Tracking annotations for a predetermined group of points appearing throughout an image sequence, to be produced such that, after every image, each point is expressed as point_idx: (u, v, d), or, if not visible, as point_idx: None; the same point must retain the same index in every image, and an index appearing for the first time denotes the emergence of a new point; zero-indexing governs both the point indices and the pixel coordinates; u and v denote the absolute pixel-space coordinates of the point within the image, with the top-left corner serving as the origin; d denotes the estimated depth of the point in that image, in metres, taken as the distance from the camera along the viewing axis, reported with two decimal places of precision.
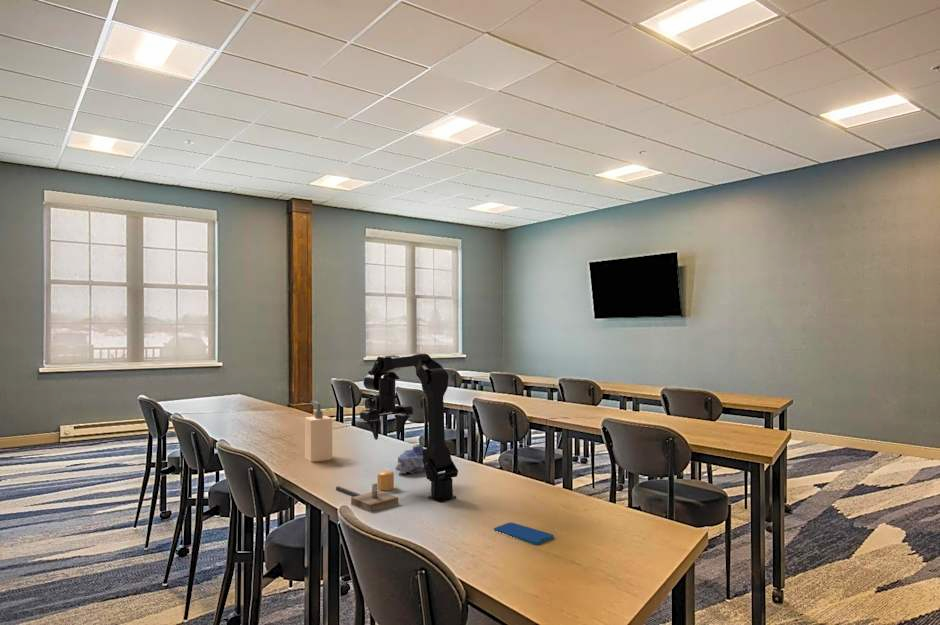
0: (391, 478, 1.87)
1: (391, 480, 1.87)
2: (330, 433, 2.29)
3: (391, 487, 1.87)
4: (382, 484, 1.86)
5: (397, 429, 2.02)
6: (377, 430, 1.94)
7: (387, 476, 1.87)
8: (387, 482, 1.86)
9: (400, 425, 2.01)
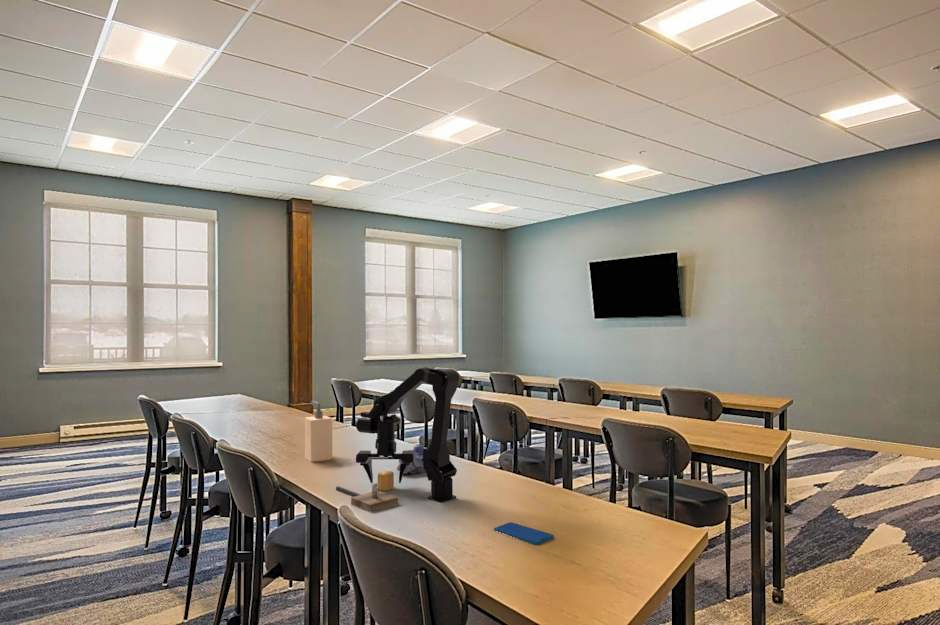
0: (391, 478, 1.87)
1: (391, 480, 1.87)
2: (330, 433, 2.29)
3: (391, 487, 1.87)
4: (382, 484, 1.86)
5: None
6: (368, 474, 1.87)
7: (387, 476, 1.87)
8: (387, 482, 1.86)
9: None
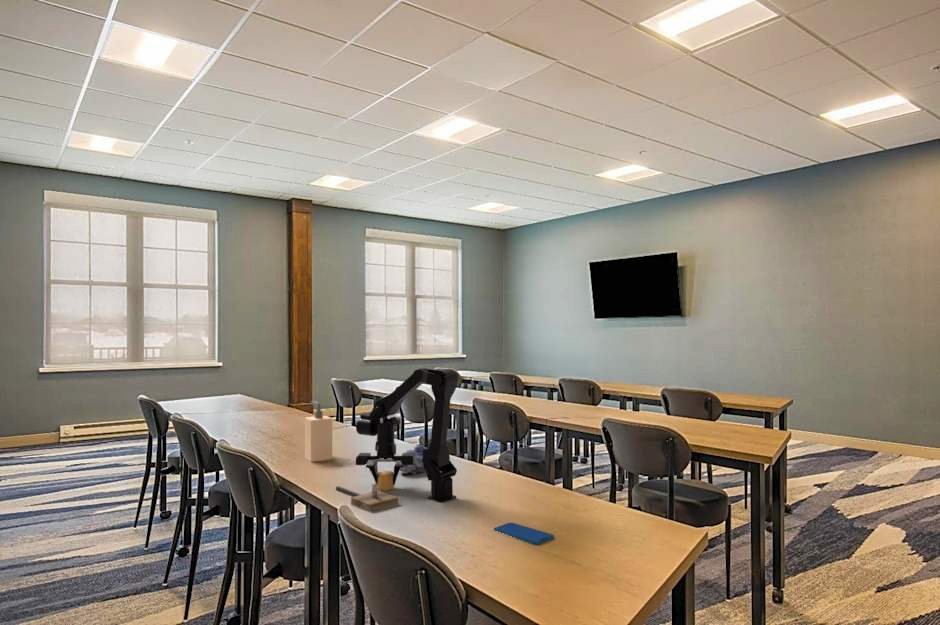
0: (391, 478, 1.87)
1: (391, 480, 1.87)
2: (330, 433, 2.29)
3: (391, 487, 1.87)
4: (382, 484, 1.86)
5: None
6: (374, 476, 1.87)
7: (387, 476, 1.87)
8: (387, 482, 1.86)
9: None
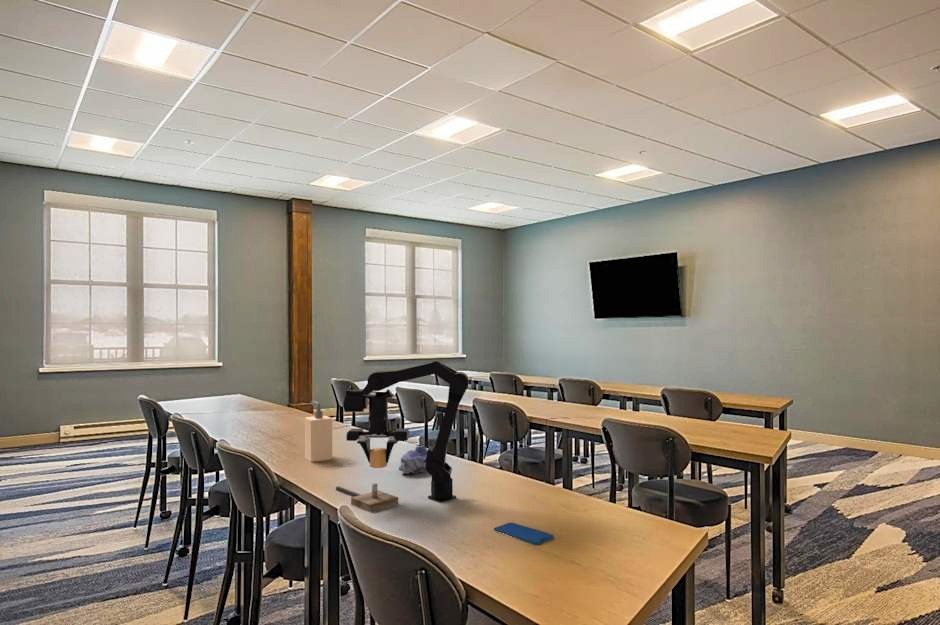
0: (384, 455, 1.77)
1: (384, 457, 1.77)
2: (330, 433, 2.29)
3: (384, 464, 1.77)
4: (374, 461, 1.76)
5: None
6: (366, 452, 1.77)
7: (379, 453, 1.76)
8: (380, 459, 1.76)
9: None
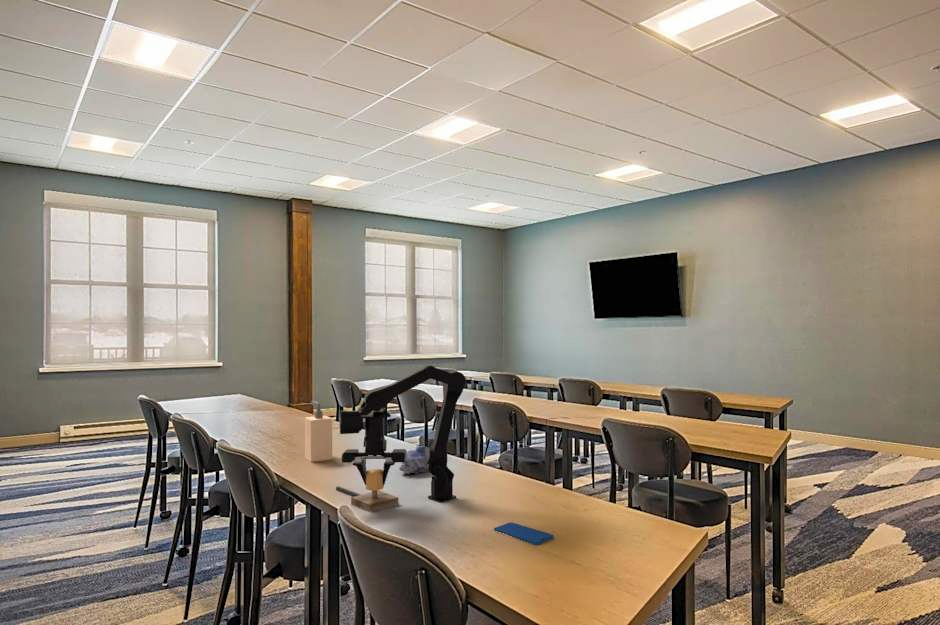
0: (381, 477, 1.71)
1: (381, 479, 1.71)
2: (330, 433, 2.29)
3: (381, 487, 1.71)
4: (370, 483, 1.70)
5: None
6: (362, 474, 1.71)
7: (376, 475, 1.70)
8: (376, 481, 1.70)
9: (383, 473, 1.71)
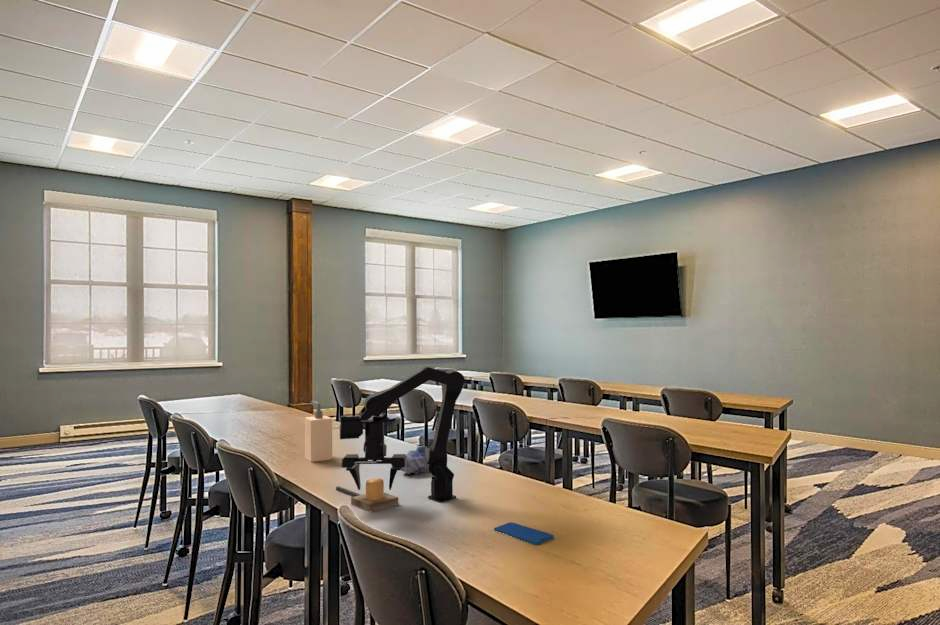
0: (381, 486, 1.71)
1: (381, 488, 1.71)
2: (330, 433, 2.29)
3: (381, 496, 1.71)
4: (370, 493, 1.70)
5: None
6: (355, 480, 1.71)
7: (376, 484, 1.70)
8: (376, 491, 1.70)
9: None
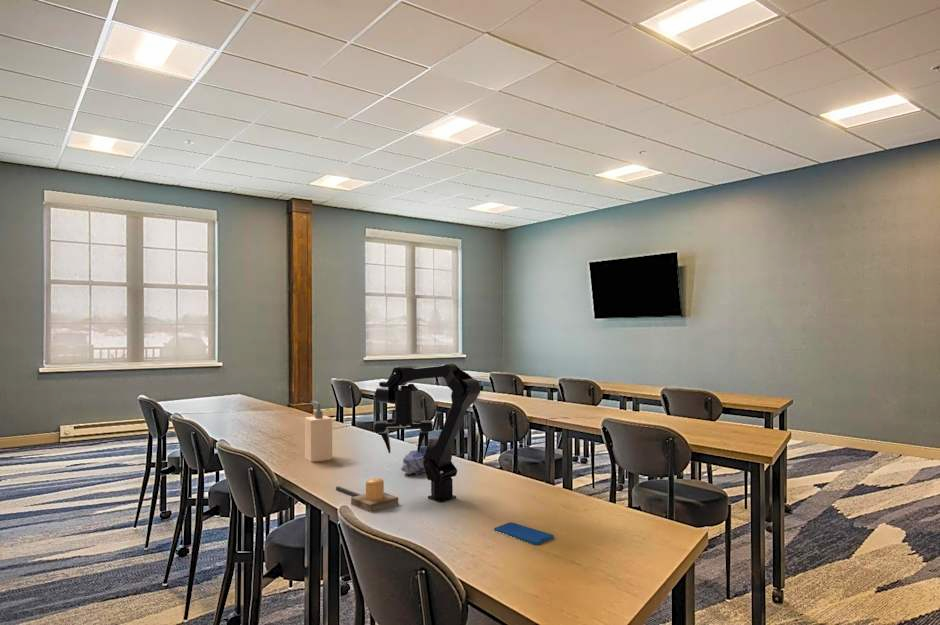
0: (381, 486, 1.71)
1: (381, 488, 1.71)
2: (330, 433, 2.29)
3: (381, 496, 1.71)
4: (370, 493, 1.70)
5: None
6: (387, 443, 1.85)
7: (376, 484, 1.70)
8: (376, 491, 1.70)
9: (418, 442, 1.86)
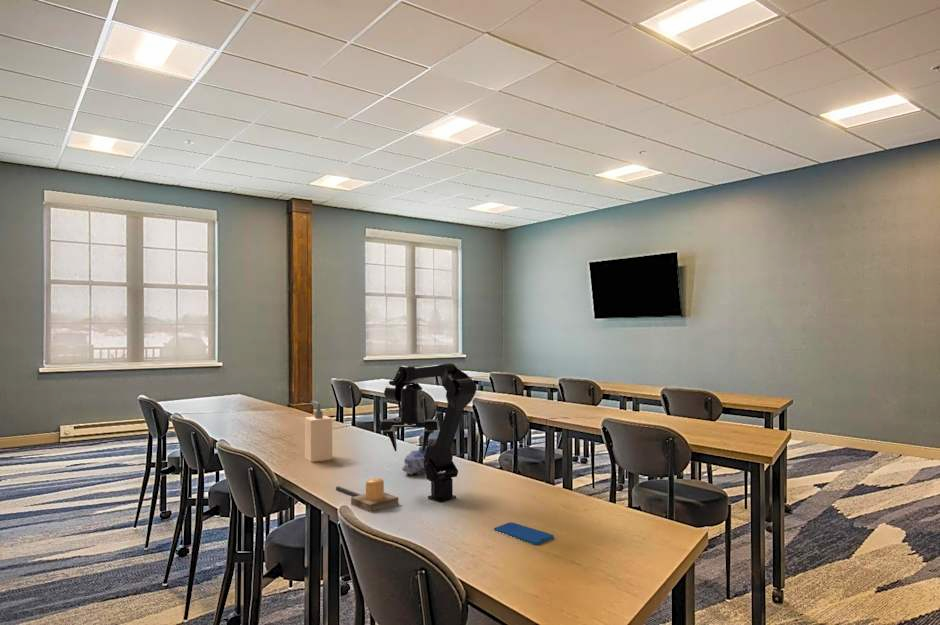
0: (381, 486, 1.71)
1: (381, 488, 1.71)
2: (330, 433, 2.29)
3: (381, 496, 1.71)
4: (370, 493, 1.70)
5: None
6: (392, 441, 1.88)
7: (376, 484, 1.70)
8: (376, 491, 1.70)
9: (423, 440, 1.88)
